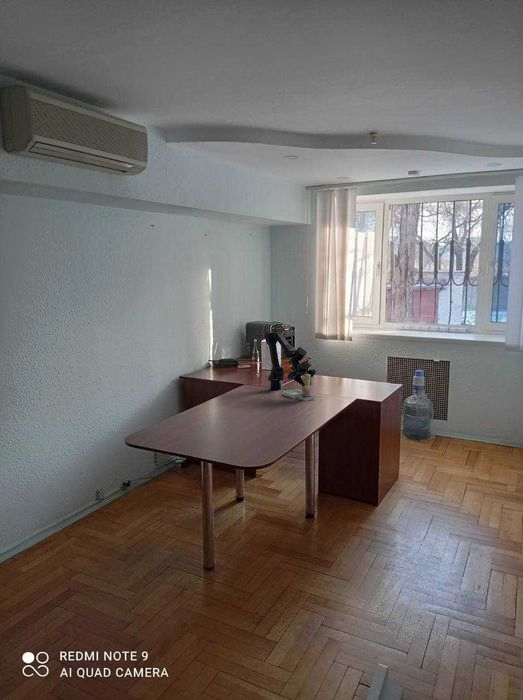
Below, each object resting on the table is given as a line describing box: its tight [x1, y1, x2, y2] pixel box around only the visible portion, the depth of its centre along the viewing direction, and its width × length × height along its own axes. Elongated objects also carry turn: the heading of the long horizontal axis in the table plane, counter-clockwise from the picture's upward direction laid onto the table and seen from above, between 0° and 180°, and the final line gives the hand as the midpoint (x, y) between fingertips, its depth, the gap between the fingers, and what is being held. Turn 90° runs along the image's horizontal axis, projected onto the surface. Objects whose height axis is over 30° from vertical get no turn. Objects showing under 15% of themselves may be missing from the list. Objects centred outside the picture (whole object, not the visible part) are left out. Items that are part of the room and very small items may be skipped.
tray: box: [282, 389, 302, 399], centre depth 328 cm, size 12×12×2 cm
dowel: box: [301, 374, 311, 396], centre depth 318 cm, size 5×5×13 cm
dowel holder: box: [296, 394, 315, 402], centre depth 319 cm, size 8×8×2 cm
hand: (307, 385), depth 317 cm, fingers closed on dowel, 5 cm apart
